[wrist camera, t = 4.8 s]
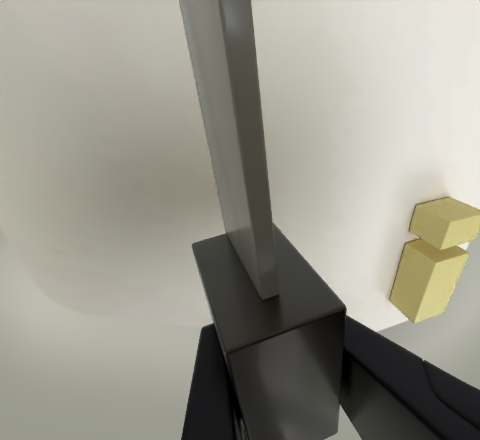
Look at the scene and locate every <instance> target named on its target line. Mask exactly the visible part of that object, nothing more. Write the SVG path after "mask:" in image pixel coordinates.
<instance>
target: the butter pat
mask: <svg viewBox="0 0 480 440" xmlns="http://www.w3.org/2000/svg"><path fill="white" fill-rule="evenodd" d="M479 229H480V210H479V209H477V208H474V207H472V206H470V205H467V204H465V203H463V202H460V201H458V200H456V199H453V198H451V197H448V198H443V199H439V200H435V201H431V202H427V203H422V204H418V205H416V208H415V211H414V215H413V219H412V222H411V226H410V229H409V231H410V232H412V233H413V234H415V235H417V236H418V237H420V238H421V239H423V240H425V241H426V242H428V243H430V244H431V245H433V246H434V247H436V248H438V249H439V250H442V249H446V248H449V247H453V246H456V245H459V244H463V243H466V242H470V241H473V240H475V238H476V236H477V234H478V231H479Z"/></svg>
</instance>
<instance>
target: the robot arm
mask: <svg viewBox="0 0 480 440" xmlns="http://www.w3.org/2000/svg"><path fill="white" fill-rule="evenodd" d="M340 405H341V406H342V408H343V410H344V411H345V413H346V414H347V416H348V418H349V419H350V421H351V422H352V424H353V426H354V427H355V429H356V430H357V432H358V433H359V435H360V437H361V439H362V440H480V390H479V389H477V388H475V387H473V386H471V385H469V384H467V383H465V382H463V381H461V380H460V379H458V378H456V377H454V376H452V375H450V374H449V373H446V372H445V371H443V370H441V369H440V368H438V367H436V366H434V365H433V364H431V363H429V362H427V361H426V360H424V361H423V360H422V358H420V357H418V356H417V355H415V354H413V353H411V352H410V351H408V350H406V349H404V348H403V347H401V346H399V345H398V344H396V343H394V342H392V341H391V340H389V339H387V338H385V337H384V336H382V335H380V334H378V333H377V332H375V331H373V330H371V329H370V328H368V327H366V326H364V325H363V324H361V323H359V322H357V321H356V320H354V319H352V318H350V317H349V316H347V315H346V324H345V338H344V352H343V365H342V379H341V393H340ZM181 440H247V436H246V433H245V430H244V426H243V423H242V419H241V415H240V411H239V408H238V404H237V400H236V397H235V393H234V390H233V386H232V382H231V379H230V375H229V372H228V368H227V365H226V362H225V359H224V355H223V352H222V349H221V345H220V342H219V339H218V335H217V332H216V329H215V325H214V323H212V324H209V325H207V326H204V327H202V329H201V333H200V339H199V344H198V350H197V355H196V361H195V367H194V372H193V377H192V383H191V388H190V394H189V399H188V404H187V410H186V415H185V421H184V427H183V433H182V437H181Z"/></svg>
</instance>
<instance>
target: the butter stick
mask: <svg viewBox="0 0 480 440" xmlns="http://www.w3.org/2000/svg"><path fill="white" fill-rule="evenodd" d="M468 255H469V252H467V251H465V250H463V249H462V248H460V247H458V246H453V247H449V248H446V249H442V250H439V249H438V248H436V247H434V246H433V245H431V244H430V243H428V242H426V241H425V240H423V239H418V240H415V241H411V242H407V243H406V244H405V247H404V251H403V254H402V258H401V261H400V265H399V268H398V272H397V275H396V279H395V283H394V286H393V290H392V293H391V297H390V302H391V303H392V304H393V305H394V306H395V307H396V308H397V309H399V310H400V311H401V312H402V313H403V314H404V315H405V316H406V317H407V318H408V319H409V320H410V321H411V322H412V323H417V322H420V321H423V320H426V319H428V318H431V317H434V316H436V315H439V314H442V313H444V311H445V308H446V306H447V304H448V302H449V299H450V297H451V294H452V292H453V290H454V287H455V285H456V283H457V280H458V278H459V276H460V273H461V271H462V269H463V266H464V264H465V262H466V259H467V257H468Z"/></svg>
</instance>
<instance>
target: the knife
mask: <svg viewBox="0 0 480 440" xmlns="http://www.w3.org/2000/svg"><path fill="white" fill-rule="evenodd" d="M179 3H180V8H181V13H182V18H183V23H184V28H185V33H186V38H187V43H188V48H189V53H190V58H191V63H192V68H193V73H194V78H195V83H196V88H197V93H198V98H199V102H200V107H201V112H202V117H203V122H204V127H205V132H206V137H207V142H208V147H209V152H210V157H211V162H212V167H213V172H214V177H215V182H216V187H217V192H218V197H219V202H220V207H221V212H222V217H223V222H224V227H225V232H226V234H222V235H219V236H216V237H212V238H209V239H205V240H202V241H199V242H195V243H193V244H192V249H193V253H194V256H195V260H196V263H197V267H198V270H199V274H200V277H201V281H202V285H203V288H204V292H205V295H206V299H207V302H208V306H209V309H210V313H211V316H212V320H213V323H214V325H215V329H216V332H217V335H218V339H219V342H220V345H221V349H222V352H223V355H224V359H225V362H226V365H227V368H228V372H229V375H230V379H231V382H232V386H233V390H234V393H235V397H236V400H237V404H238V408H239V411H240V415H241V419H242V423H243V426H244V430H245V433H246V436H247V440H324V439H326V438H328V437H330V436H332V435H334V434H336V433H337V432H338V420H339V407H340V406H339V405H340V393H341V379H342V365H343V352H344V338H345V324H346V310H347V309H346V306H345V304H344V303H343V302H342V301H341V300H340V299H339V298H338V296H337V295H336V294H335V293H334V292H333V291H332V290H331V288H330V287H329V286H328V285H327V284H326V283H325V282H324V280H323V279H322V278H321V277H320V276H319V275H318V274H317V272H316V271H315V270H314V269H313V268H312V267H311V266H310V264H309V263H308V262H307V261H306V260H305V259H304V257H303V256H302V255H301V254H300V253H299V252H298V251H297V249H296V248H295V247H294V246H293V245H292V244H291V243H290V241H289V240H288V239H287V238H286V237H285V236H284V235H283V233H282V232H281V231H280V230H279V229H278V228H277V227H276V225H275V224H274V223H273V222H272V212H271V202H270V191H269V181H268V171H267V161H266V150H265V140H264V130H263V120H262V109H261V99H260V89H259V79H258V68H257V58H256V48H255V38H254V27H253V17H252V7H251V0H179Z"/></svg>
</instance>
